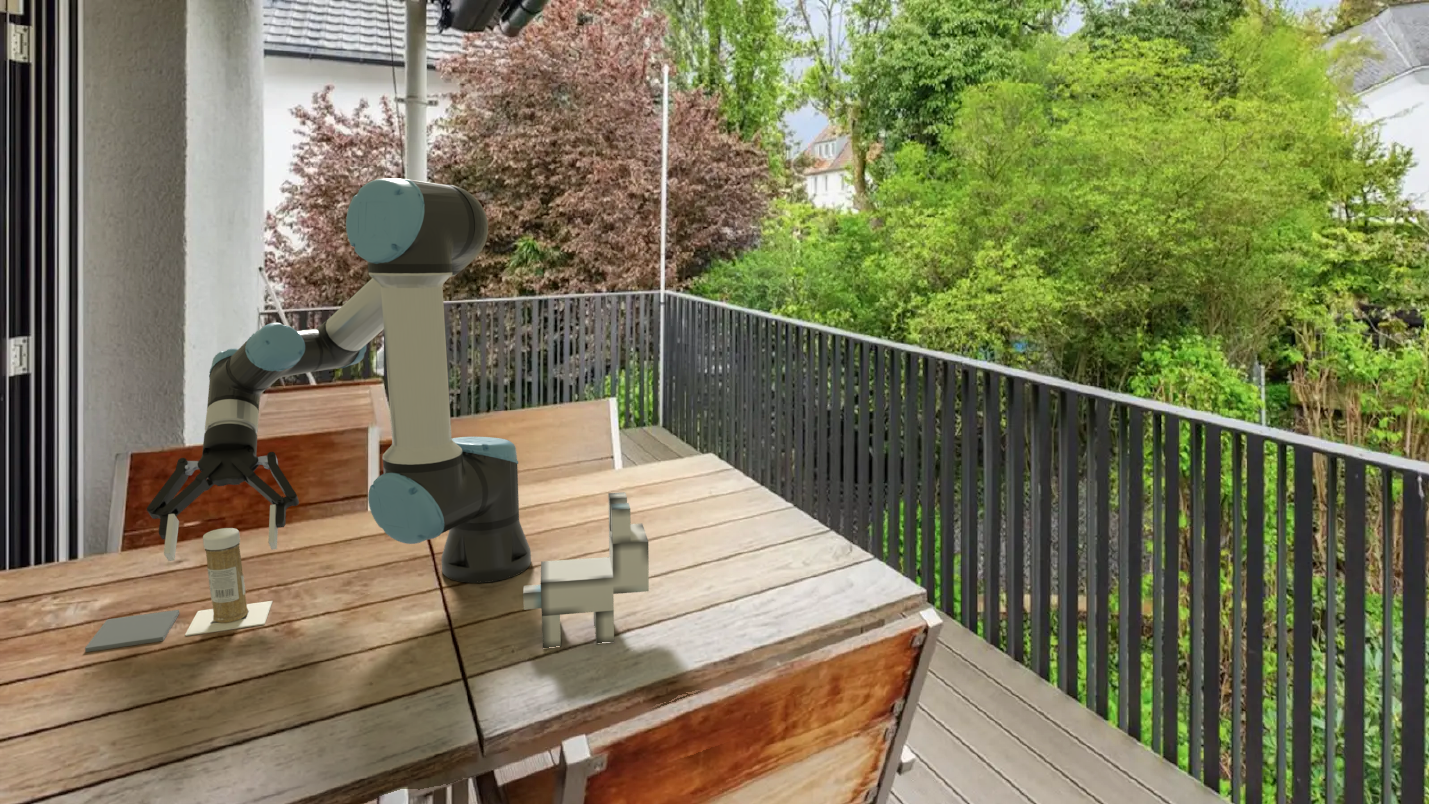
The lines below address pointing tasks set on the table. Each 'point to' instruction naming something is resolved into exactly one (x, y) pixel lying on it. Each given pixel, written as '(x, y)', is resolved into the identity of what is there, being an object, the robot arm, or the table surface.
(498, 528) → the robot arm
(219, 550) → the sprinkles bottle
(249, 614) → the tile
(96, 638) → the coaster
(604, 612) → the toy llama
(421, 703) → the table surface
